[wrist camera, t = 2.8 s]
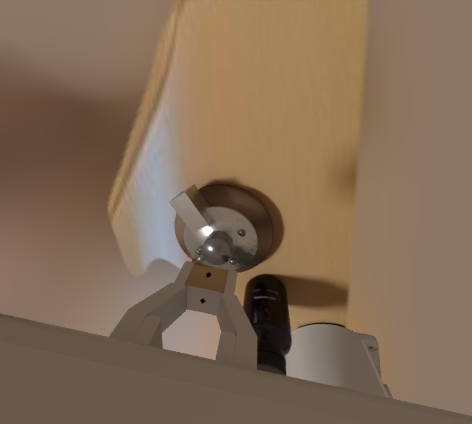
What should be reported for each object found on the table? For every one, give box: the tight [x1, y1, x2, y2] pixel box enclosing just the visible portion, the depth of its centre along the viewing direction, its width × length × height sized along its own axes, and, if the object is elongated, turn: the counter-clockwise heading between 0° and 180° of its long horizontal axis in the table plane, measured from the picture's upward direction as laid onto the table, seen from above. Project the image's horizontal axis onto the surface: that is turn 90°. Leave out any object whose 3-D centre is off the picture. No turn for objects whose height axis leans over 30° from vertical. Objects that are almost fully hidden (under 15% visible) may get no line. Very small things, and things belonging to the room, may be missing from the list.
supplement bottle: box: [243, 275, 292, 376], centre depth 25 cm, size 7×7×12 cm
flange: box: [169, 184, 258, 270], centre depth 23 cm, size 13×10×4 cm
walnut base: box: [175, 184, 273, 273], centre depth 24 cm, size 14×14×6 cm
